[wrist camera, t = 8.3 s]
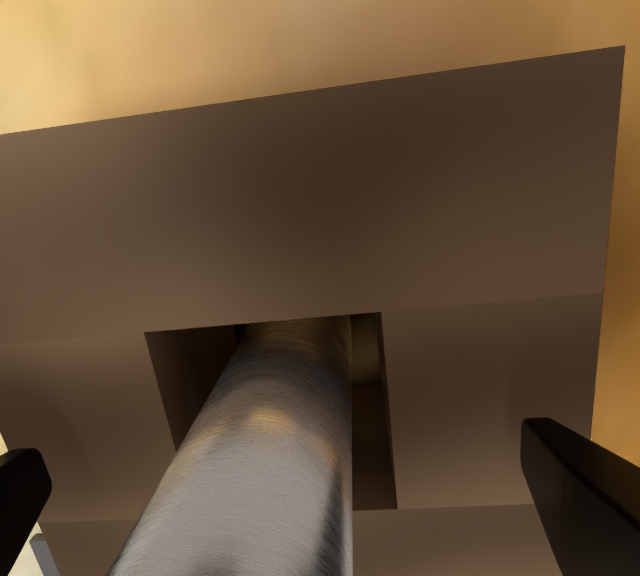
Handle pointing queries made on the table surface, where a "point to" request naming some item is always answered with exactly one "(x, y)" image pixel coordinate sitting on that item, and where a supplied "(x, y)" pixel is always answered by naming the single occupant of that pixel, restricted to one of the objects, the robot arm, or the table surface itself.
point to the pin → (260, 465)
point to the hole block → (318, 293)
